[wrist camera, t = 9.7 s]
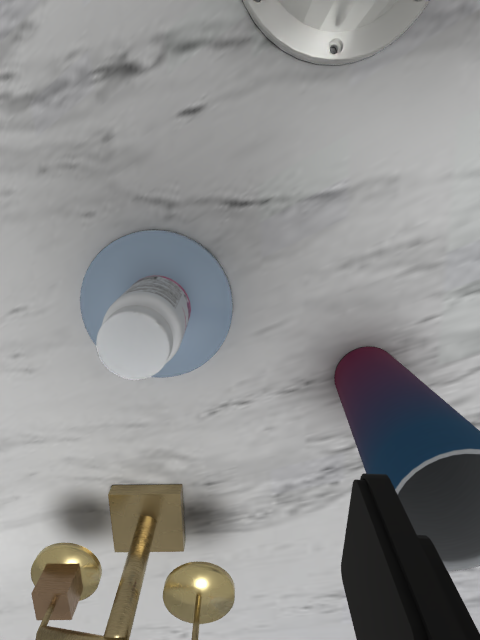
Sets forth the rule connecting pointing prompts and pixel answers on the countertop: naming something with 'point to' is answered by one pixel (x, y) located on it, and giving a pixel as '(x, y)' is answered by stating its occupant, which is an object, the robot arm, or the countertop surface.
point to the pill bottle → (144, 328)
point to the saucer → (173, 262)
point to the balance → (130, 568)
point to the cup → (416, 450)
